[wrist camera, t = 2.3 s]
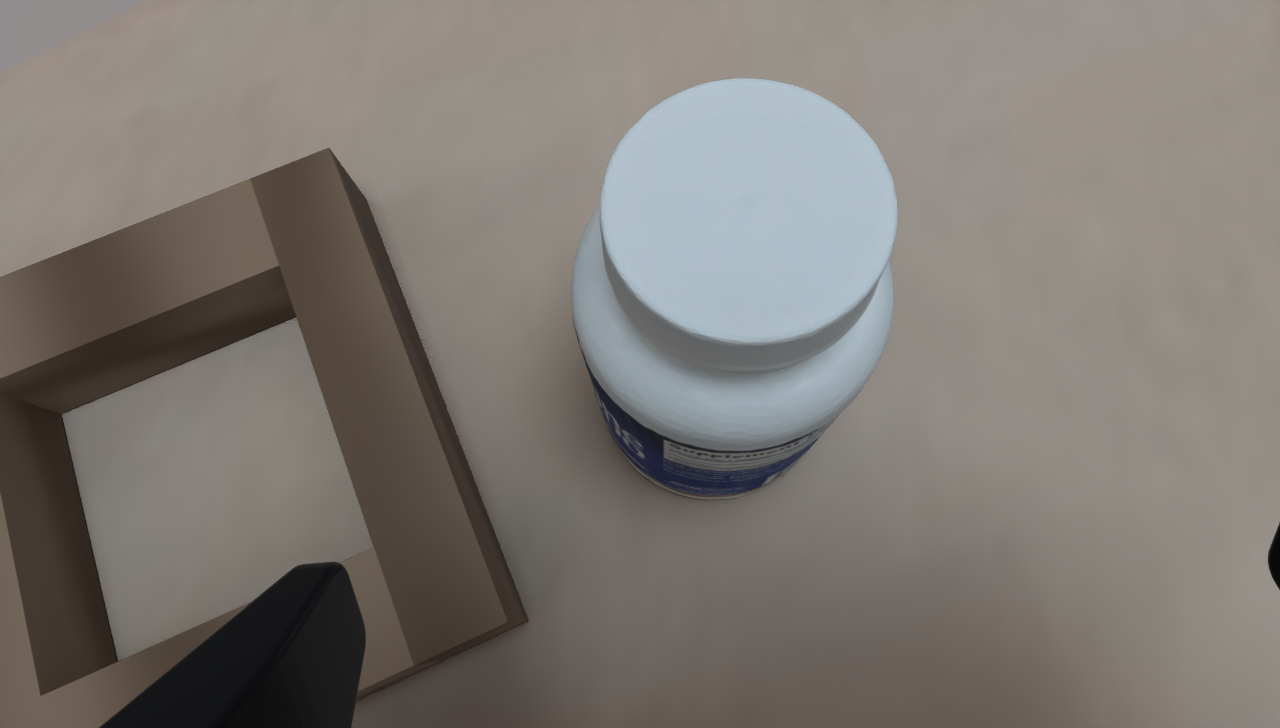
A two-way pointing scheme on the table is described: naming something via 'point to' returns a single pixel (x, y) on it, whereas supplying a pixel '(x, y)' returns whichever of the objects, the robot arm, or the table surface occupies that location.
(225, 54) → the table surface
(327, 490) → the table surface
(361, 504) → the brown holder board
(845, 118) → the pill bottle
